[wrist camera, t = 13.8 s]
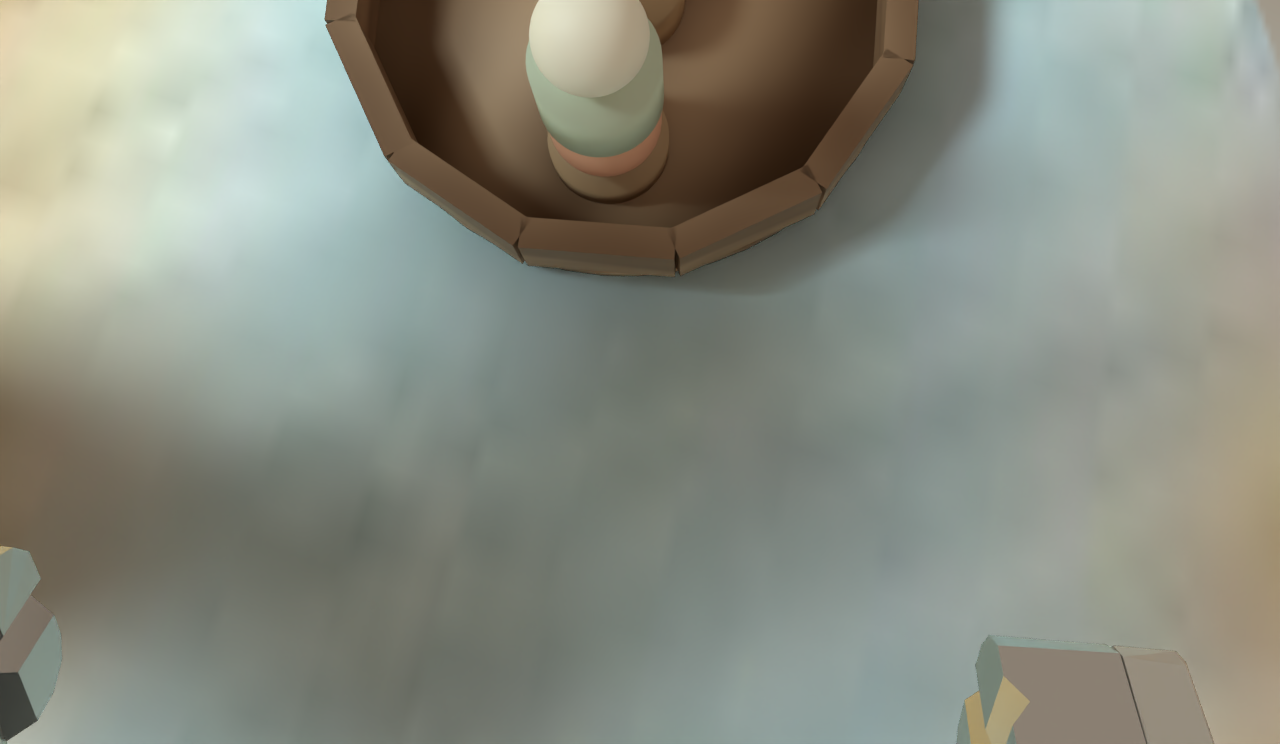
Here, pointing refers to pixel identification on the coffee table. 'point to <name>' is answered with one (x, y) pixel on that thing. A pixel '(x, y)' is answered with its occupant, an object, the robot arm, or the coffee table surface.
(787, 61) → the walnut tray
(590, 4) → the bead column
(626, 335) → the coffee table surface
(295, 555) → the coffee table surface
